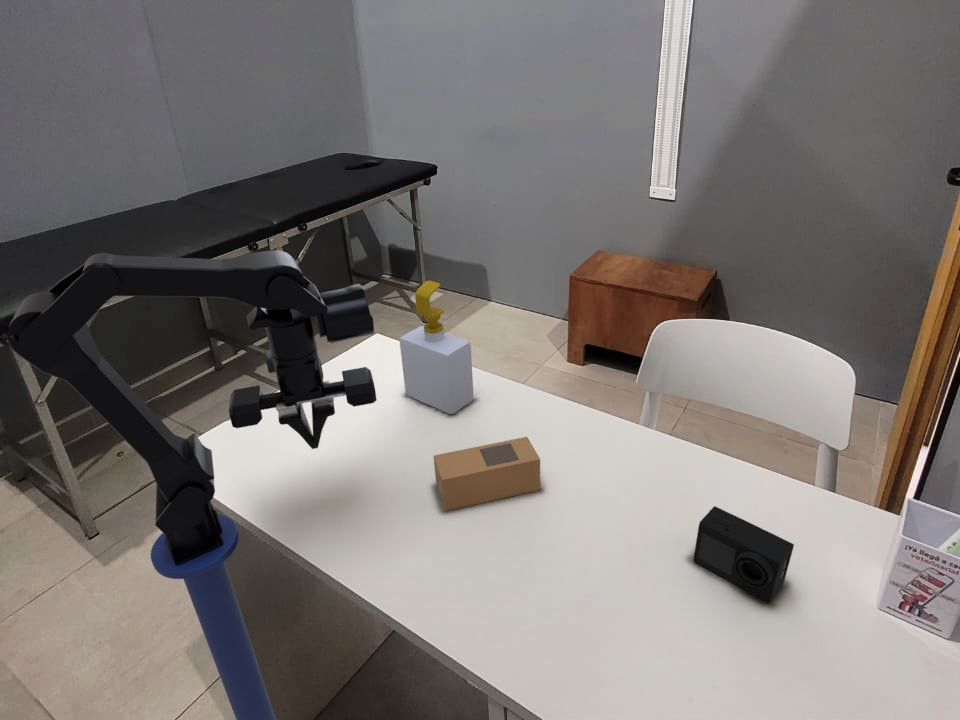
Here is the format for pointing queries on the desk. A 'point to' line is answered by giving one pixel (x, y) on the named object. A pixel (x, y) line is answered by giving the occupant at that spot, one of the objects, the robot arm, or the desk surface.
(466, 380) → the soap bottle
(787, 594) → the desk surface
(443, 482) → the carton
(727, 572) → the digital camera
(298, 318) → the robot arm
